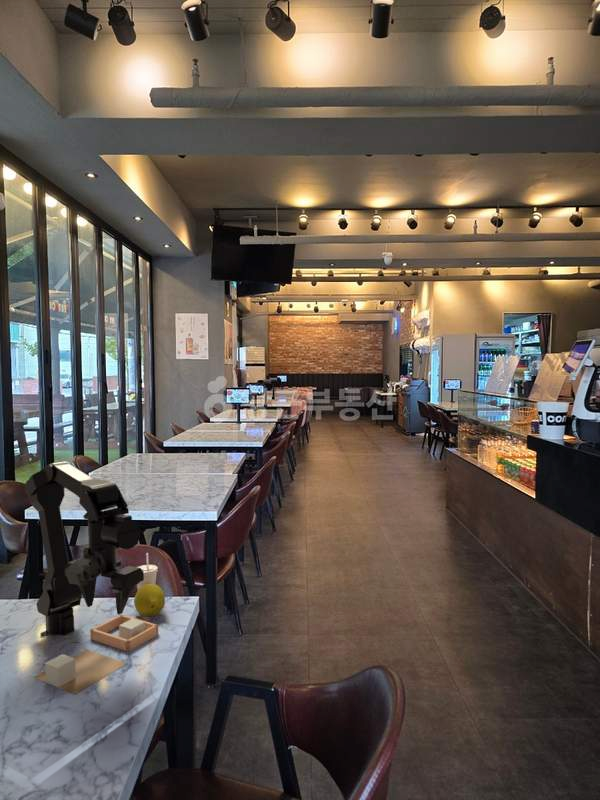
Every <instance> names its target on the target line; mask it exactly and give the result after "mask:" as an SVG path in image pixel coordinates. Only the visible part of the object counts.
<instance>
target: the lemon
mask: <svg viewBox="0 0 600 800" xmlns="http://www.w3.org/2000/svg"><path fill="white" fill-rule="evenodd" d="M133 600H134V601H133V603H134V607H135V609H136V612H137V613H138V614H139V615H141V616H142V617H146V618H148V617H151V618H152V617H154V616H156V615H158V614H159V613H161V611H162V610H163V609H164V607H165V605H166V604H165V603H166V596H165V593H164V591H163V589H162V588H161V587H160V586H159V585H158V584H156V583H155V584H146V585H144V586H142V587H141V588H140V589H139V590H138V589H137V592H136V593H135V596H134V599H133Z"/></svg>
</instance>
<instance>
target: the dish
mask: <svg viewBox="0 0 600 800" xmlns="http://www.w3.org/2000/svg"><path fill="white" fill-rule="evenodd" d="M131 619H135V620H138V621H142V622H144V631H143V632H141V633H139V634H138V635H136V636H134V637H132V638H130V639H129V640H127V639H124V638H121V637H119V636H118V635H116V634H115V635H114V634H111V633H109V632H110V631H112V630H114V629H116V628H119V625H121V624H123V623H125V622H127V621H129V620H131ZM89 632H90V640H93V641H95V642H98V643H101V644H105V645H107V646H109V647H112V648H113V647H114V648H116V649H119V650H123V651H125V652H130V651H132V650H134V649H135V648H137V647H139V646H140V645H142V644H143V643H146V642H147V641H149V640H151V639H153V638H154V637H156V636H158V635H159V624H157V623H156V624H155V623H152V622H150V621H149V622H148V621H146V620H142V619H139V618H136V617H132V616H129V615H125V614H123V613H122V614H120V615H118V616H115V617H114V618H112V619H111V618H110V619H109V620H107V621H105V622H103V623H102V624H99V625H97V626H95V627H93V628H91V629H90V631H89Z"/></svg>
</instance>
